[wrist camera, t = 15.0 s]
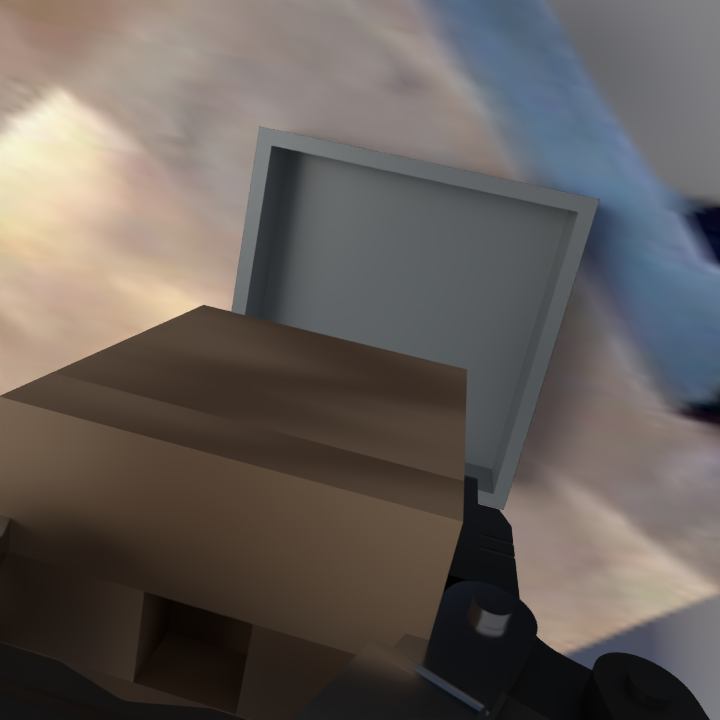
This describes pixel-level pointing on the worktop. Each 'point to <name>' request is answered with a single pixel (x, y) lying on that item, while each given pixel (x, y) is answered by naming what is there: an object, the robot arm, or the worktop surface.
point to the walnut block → (228, 510)
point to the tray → (418, 273)
